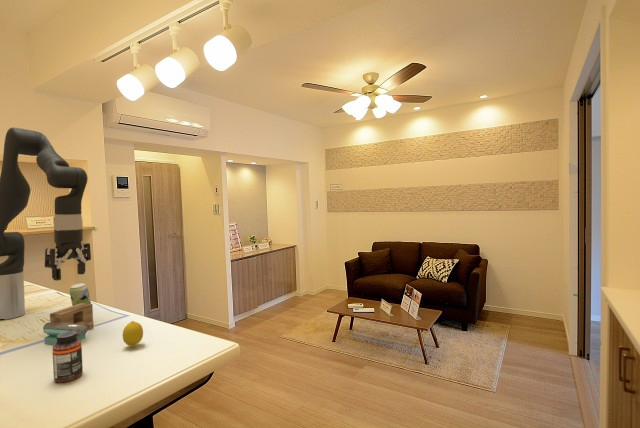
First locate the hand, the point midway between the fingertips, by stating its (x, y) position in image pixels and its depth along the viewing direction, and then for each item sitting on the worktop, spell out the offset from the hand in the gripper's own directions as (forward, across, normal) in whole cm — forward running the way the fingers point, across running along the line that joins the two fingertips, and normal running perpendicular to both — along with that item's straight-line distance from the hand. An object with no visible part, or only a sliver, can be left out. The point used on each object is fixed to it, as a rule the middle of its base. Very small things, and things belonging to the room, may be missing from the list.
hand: (69, 277), depth 111 cm
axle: (+16, +3, +1) cm, 16 cm away
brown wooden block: (+20, -7, -4) cm, 22 cm away
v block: (+20, +3, +1) cm, 20 cm away
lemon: (+20, +3, +26) cm, 33 cm away
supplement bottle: (+20, +22, +23) cm, 37 cm away
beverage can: (+21, -21, -18) cm, 35 cm away
